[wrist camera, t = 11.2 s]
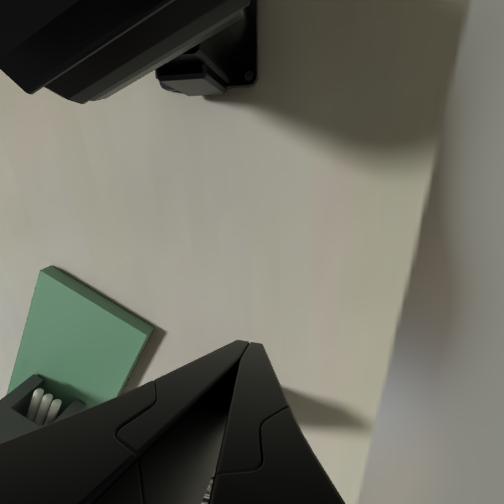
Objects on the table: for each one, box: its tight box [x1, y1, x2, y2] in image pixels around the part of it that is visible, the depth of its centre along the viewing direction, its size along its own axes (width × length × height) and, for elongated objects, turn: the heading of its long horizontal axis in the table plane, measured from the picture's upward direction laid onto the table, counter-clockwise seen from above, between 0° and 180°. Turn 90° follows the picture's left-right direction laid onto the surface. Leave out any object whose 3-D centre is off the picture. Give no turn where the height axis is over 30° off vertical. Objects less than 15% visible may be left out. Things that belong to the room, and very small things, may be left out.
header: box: [26, 388, 62, 427], centre depth 29 cm, size 8×6×3 cm
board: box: [7, 266, 154, 420], centre depth 29 cm, size 19×11×1 cm, turn 151°
